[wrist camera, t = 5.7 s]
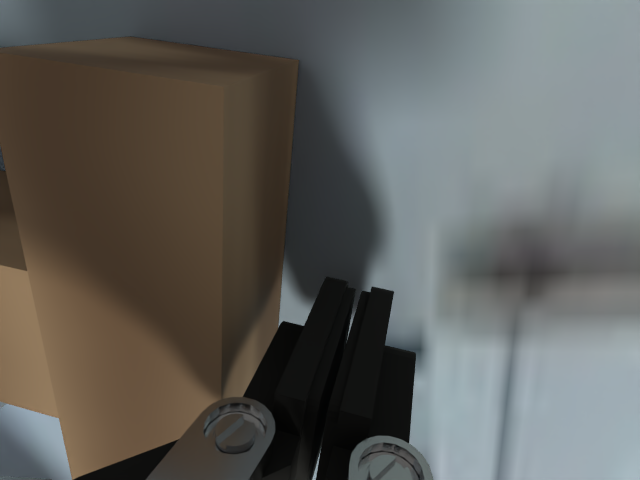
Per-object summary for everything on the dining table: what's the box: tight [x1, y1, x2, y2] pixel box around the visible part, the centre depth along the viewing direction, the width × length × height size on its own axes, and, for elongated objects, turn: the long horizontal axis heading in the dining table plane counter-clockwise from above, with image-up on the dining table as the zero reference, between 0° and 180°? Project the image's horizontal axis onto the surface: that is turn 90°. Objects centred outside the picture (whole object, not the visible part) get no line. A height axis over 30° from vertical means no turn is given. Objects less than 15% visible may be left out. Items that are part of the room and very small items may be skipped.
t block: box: [0, 37, 299, 480], centre depth 12 cm, size 11×12×4 cm
